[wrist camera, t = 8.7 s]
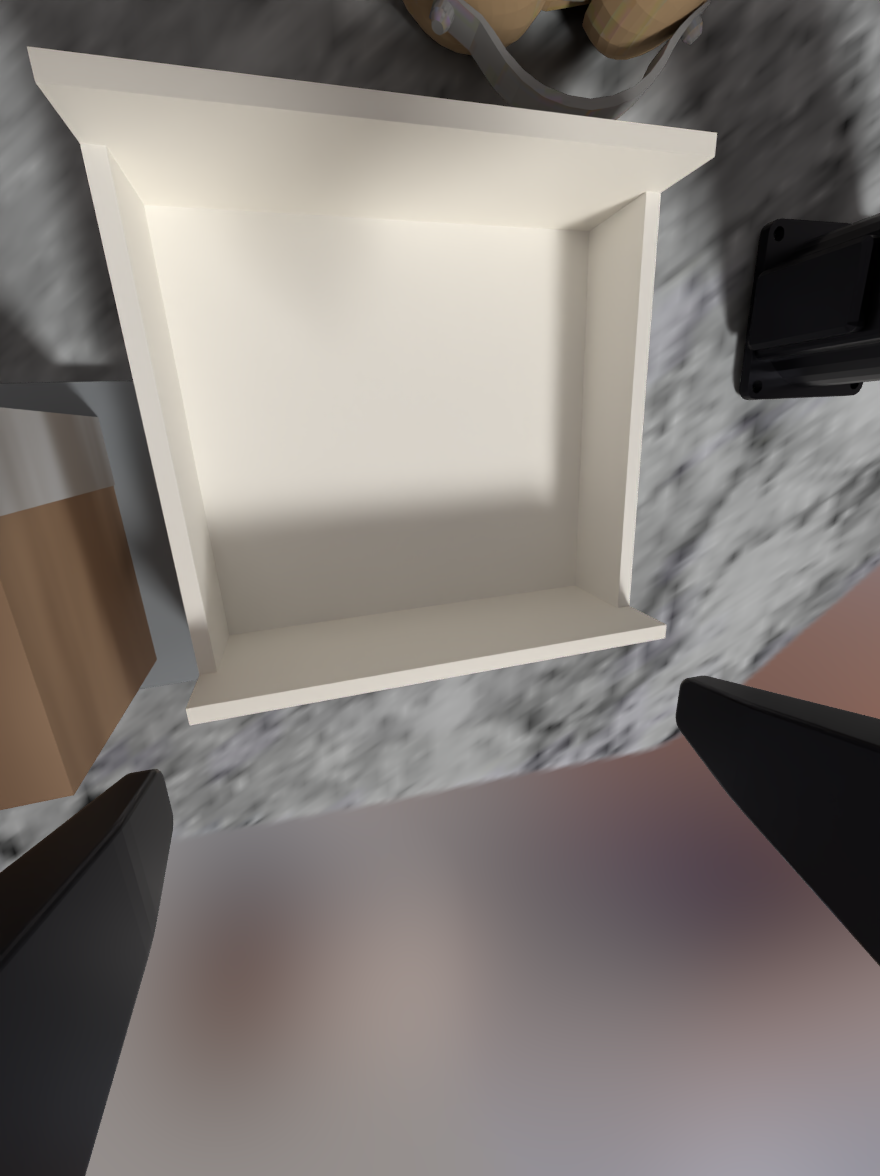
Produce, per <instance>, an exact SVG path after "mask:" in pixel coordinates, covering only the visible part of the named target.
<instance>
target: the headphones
mask: <svg viewBox="0 0 880 1176" xmlns="http://www.w3.org/2000/svg"><path fill="white" fill-rule="evenodd" d="M706 1H707V0H403V2H404V4H405V6H406V8H407V10H408V11H409V13H410V14H411V15H412V16H413V18H414V19H415V20H416V22H417V23H418V24H419V25H420V27H421V28H422V29H423V31H424V32H425V33H426V34H428V35H429V36H430V37H431V38H432V39H434V40H435V41H436V42H437V43H439V44H440V45H442V46H444V47H446V48H448V49H450V50H452V51H454V52H456V53H461V54H467V55H472V56H473V58H474V59H475V61H476V63H477V64H478V66H479V67H480V69H481V70H482V72H483V73H484V75H485V76H486V78H487V79H488V81H489V82H490V84H491V85H492V87H493V88H494V89H495V90H496V92H497V93H498V94H499V95H500V96H501V97H502V98H503V99H504V100H505V101H506V102H507V104H508V105H509V106H511V107H515V108H523V109H531V110H539V111H547V112H555V113H563V114H571V115H579V116H587V117H595V118H603V119H611V120H617V119H618V118H619V117H620V116H621V115H622V114H624V113H625V112H626V111H627V110H628V109H629V108H630V107H632V106H633V105H634V103H635V102H636V101H637V100H638V99H639V98H640V97H641V95H642V94H643V93H644V92H645V91H646V90H647V89H648V88H649V86H650V85H651V84H652V83H653V82H654V80H655V79H656V78H657V76H658V75H659V73H660V72H661V71H662V69H663V68H664V66H665V65H666V63H667V61H668V59H669V57H670V55H671V53H672V50H673V49H674V47H675V45H676V44H677V42H678V41H679V39H680V38H682V41H683V42H685V43H686V44H688V45H691V44H692V43H693V42H694V41H695V40H696V39H697V38H698V37H699V36H700V35H701V34H702V26H703V21H702V18H701V14H702V13H703V12H704V10H705V9H706V8H707V7H708V6H709V5H710V3H711V2H710V0H708V1H707V2H706ZM705 2H706V3H705ZM586 4H590V5H589V7H588V8H587V10H586V13H585V17H584V20H583V24H582V26H583V28H584V30H585V32H586V34H587V35H588V37H589V39H590V40H591V42H592V43H593V45H594V46H595V47H596V48H597V50H598V51H599V52H600V53H602V54H603V55H605V56H606V57H608V58H612V59H616V60H627V59H630V58H633V57H636V56H640V55H643V54H645V53H647V52H649V51H651V50H653V49H654V48H656V47H657V46H659V45H660V44H662V43H663V42H665V41H666V40H668V39H669V38H670V37H671V36H672V37H671V38H670V39H669V40H668V41H667V43H666V44H665V45H664V46H663V47H662V49H661V50H660V51H659V52H658V54H657V55H656V56H655V58H654V59H653V60H652V62H651V63H650V64H649V66H648V68H647V70H646V72H645V74H644V77H643V79H642V80H641V81H640V82H639V83H638V84H637V85H635V86H634V87H632V88H629V89H627V90H625V91H622V92H620V93H617V94H615V95H613V96H606V97H599V98H593V99H589V98H583V97H577V96H570V95H567V94H564V93H562V92H559V91H557V90H554V89H552V88H549V87H547V86H544V85H543V84H541V83H540V82H539V81H537V80H536V79H535V78H534V77H532V76H531V75H530V74H528V73H527V72H526V71H525V70H523V68H522V67H521V66H520V65H519V64H518V63H517V62H516V60H515V59H514V58H513V57H512V56H511V55H510V54H509V52H508V51H507V50H506V47H507V46H509V45H510V44H512V43H513V42H515V41H517V40H518V39H519V38H520V37H521V36H522V35H523V34H524V33H525V32H526V30H527V29H528V28H529V26H530V25H531V23H532V22H533V21H534V19H535V18H536V17H537V15H538V14H539V12H540V11H541V10H543V11H551V10H557V9H563V8H568V7H574V6H580V5H586Z"/></svg>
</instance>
